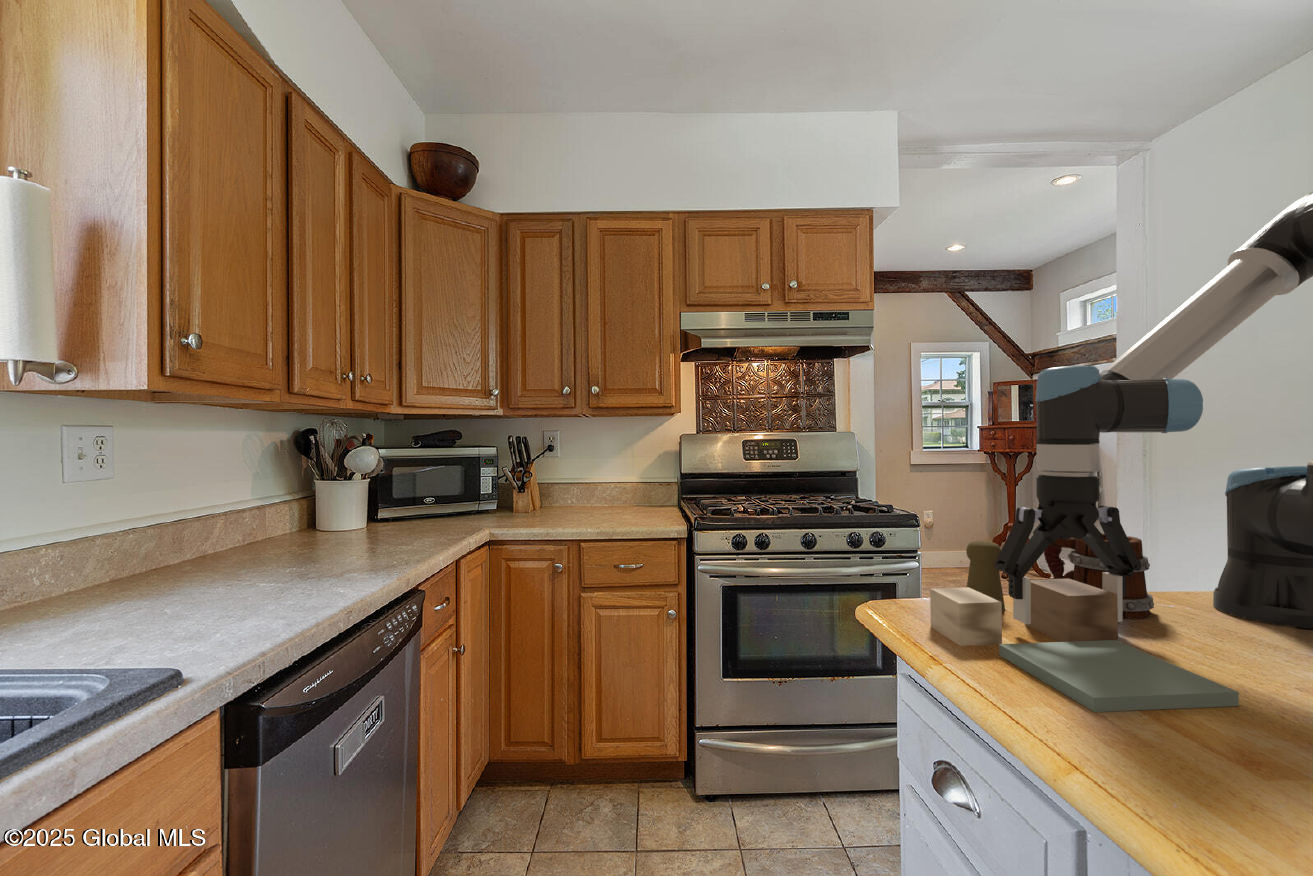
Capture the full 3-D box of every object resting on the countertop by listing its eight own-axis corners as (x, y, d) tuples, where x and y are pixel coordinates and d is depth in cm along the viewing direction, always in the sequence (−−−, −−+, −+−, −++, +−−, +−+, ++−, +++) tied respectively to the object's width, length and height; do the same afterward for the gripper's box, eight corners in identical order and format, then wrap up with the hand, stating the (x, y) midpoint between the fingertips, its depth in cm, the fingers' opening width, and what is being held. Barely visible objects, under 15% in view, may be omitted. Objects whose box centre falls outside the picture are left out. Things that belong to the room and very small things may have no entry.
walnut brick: (1069, 624, 91) (1068, 578, 91) (1118, 645, 82) (1117, 594, 82) (1025, 625, 90) (1024, 580, 90) (1069, 647, 81) (1068, 596, 81)
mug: (1156, 624, 89) (1132, 524, 90) (1047, 620, 99) (1028, 530, 101) (1168, 608, 97) (1146, 516, 98) (1066, 606, 107) (1048, 522, 109)
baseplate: (1115, 651, 79) (1115, 640, 79) (1238, 706, 63) (1238, 692, 63) (999, 655, 78) (999, 644, 78) (1094, 712, 62) (1094, 697, 62)
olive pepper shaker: (982, 613, 96) (981, 545, 96) (956, 603, 102) (955, 539, 102) (1014, 610, 98) (1013, 543, 98) (986, 600, 104) (985, 537, 103)
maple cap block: (969, 626, 91) (968, 587, 91) (1002, 645, 83) (1001, 602, 83) (930, 627, 90) (930, 588, 90) (959, 646, 82) (959, 603, 82)
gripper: (1127, 471, 90) (1127, 610, 91) (968, 473, 89) (968, 614, 89) (1173, 474, 83) (1173, 626, 83) (999, 476, 82) (1000, 630, 82)
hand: (1067, 620), depth 86 cm, fingers open, 13 cm apart
